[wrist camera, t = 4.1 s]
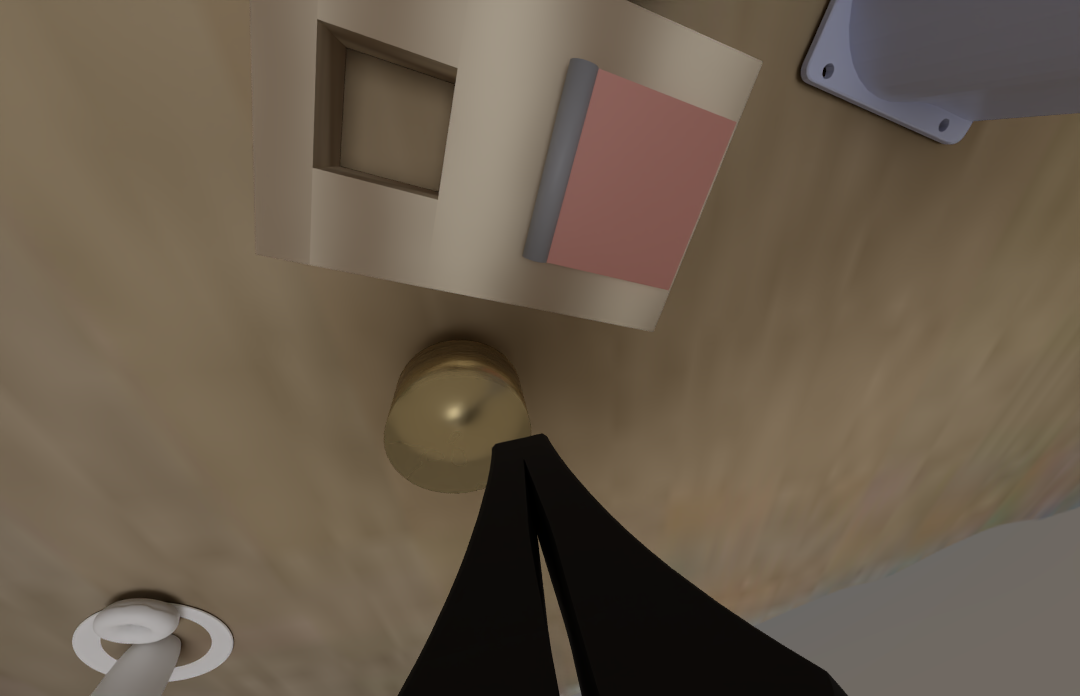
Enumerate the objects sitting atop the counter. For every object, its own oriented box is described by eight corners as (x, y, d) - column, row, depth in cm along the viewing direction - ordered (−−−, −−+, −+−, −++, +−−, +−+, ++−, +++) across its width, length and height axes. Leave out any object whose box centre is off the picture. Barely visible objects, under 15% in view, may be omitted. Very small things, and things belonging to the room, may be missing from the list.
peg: (523, 325, 19) (547, 388, 14) (500, 413, 21) (513, 497, 16) (412, 305, 17) (392, 366, 12) (399, 402, 19) (376, 489, 14)
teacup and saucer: (116, 569, 21) (45, 653, 18) (266, 606, 24) (232, 684, 21) (58, 658, 23) (-16, 749, 20) (204, 681, 26) (164, 764, 23)
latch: (725, 123, 14) (742, 121, 13) (661, 286, 16) (672, 292, 15) (566, 62, 12) (574, 55, 11) (520, 253, 14) (524, 258, 13)
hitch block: (711, 78, 16) (763, 61, 13) (627, 308, 19) (653, 332, 17) (295, -95, 12) (245, -171, 9) (291, 238, 15) (255, 254, 13)
